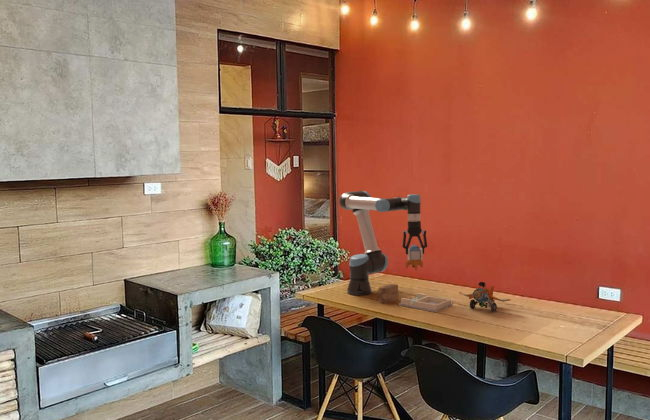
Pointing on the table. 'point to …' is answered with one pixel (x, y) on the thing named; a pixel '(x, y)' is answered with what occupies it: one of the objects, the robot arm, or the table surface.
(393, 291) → the wing block
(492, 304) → the toy airplane
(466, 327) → the table surface
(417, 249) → the toy rocket
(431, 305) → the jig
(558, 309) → the table surface
